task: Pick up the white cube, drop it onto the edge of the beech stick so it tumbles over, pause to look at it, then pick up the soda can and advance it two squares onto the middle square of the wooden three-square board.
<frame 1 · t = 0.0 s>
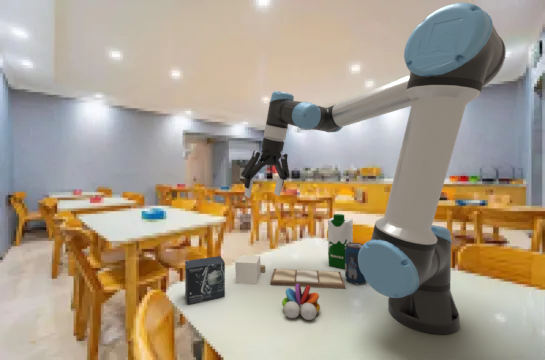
hand: (262, 195, 91), 28 cm above the table, tool tilted 20°, fingers open, 13 cm apart
stick: (252, 271, 90), on the table
box: (205, 297, 72), on the table
board: (306, 279, 83), on the table
white cube: (248, 279, 83), on the table
rainbow petal fan toy: (300, 313, 63), on the table
milk carton: (340, 265, 96), on the table
soda can: (355, 281, 82), on the table
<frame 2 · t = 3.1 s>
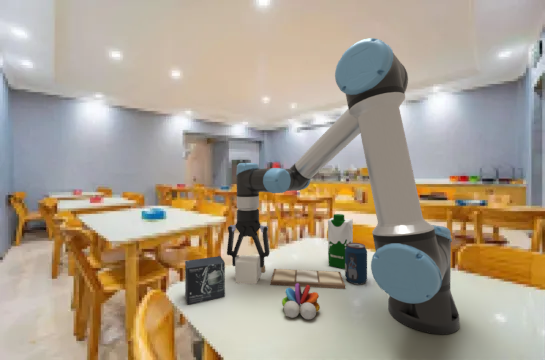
hand: (248, 275, 83), 1 cm above the table, tool pointing down, fingers closed on white cube, 7 cm apart
white cube: (248, 279, 83), on the table, touching gripper
everything else where it was.
when the fingers open (10 cm above the table, at t = 5.1 s): white cube drops 5 cm and tips over, point 3 cm above the table.
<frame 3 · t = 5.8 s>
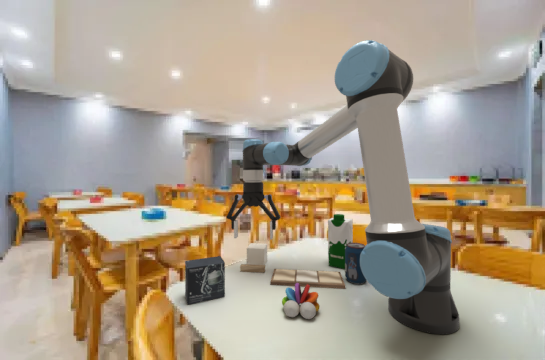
hand: (253, 238, 92), 12 cm above the table, tool pointing down, fingers open, 13 cm apart
white cube: (255, 257, 95), point 3 cm above the table, tilted 90°
everything else where it was.
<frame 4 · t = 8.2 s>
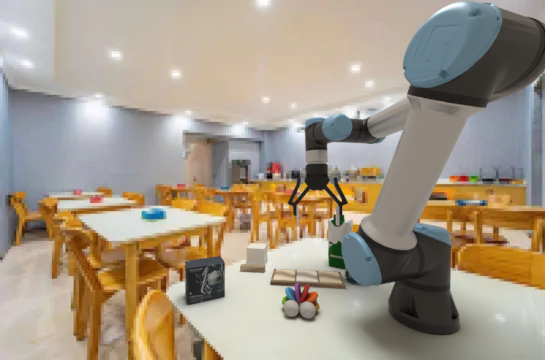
hand: (317, 225, 84), 18 cm above the table, tool pointing down, fingers open, 13 cm apart
nothing on the table moved.
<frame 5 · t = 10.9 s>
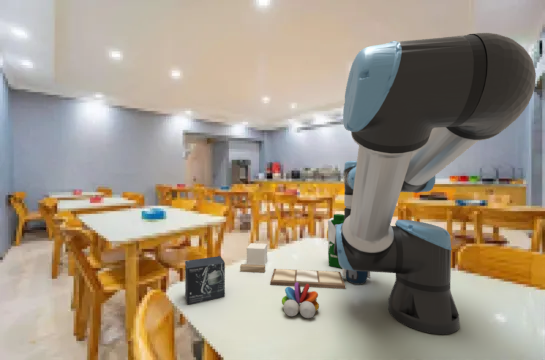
hand: (355, 275, 82), 2 cm above the table, tool pointing down, fingers closed on soda can, 7 cm apart
soda can: (355, 281, 82), on the table, touching gripper
everything else where it was.
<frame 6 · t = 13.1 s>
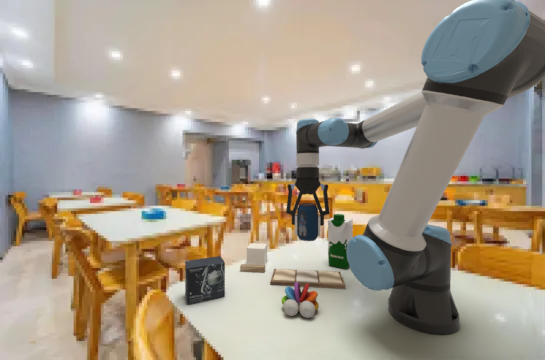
hand: (307, 234, 83), 15 cm above the table, tool pointing down, fingers closed on soda can, 7 cm apart
soda can: (307, 239, 83), point 13 cm above the table, touching gripper
everything else where it was.
when the fingers open (4 cm above the table, at t = 15.5 s): soda can drops 1 cm, resting on board.
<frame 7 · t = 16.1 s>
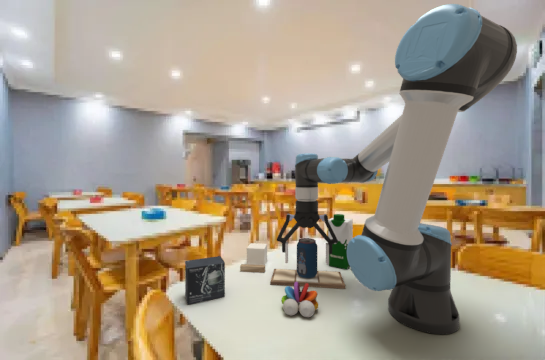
hand: (306, 262, 83), 6 cm above the table, tool pointing down, fingers open, 13 cm apart
soda can: (306, 276, 83), point 1 cm above the table, touching board
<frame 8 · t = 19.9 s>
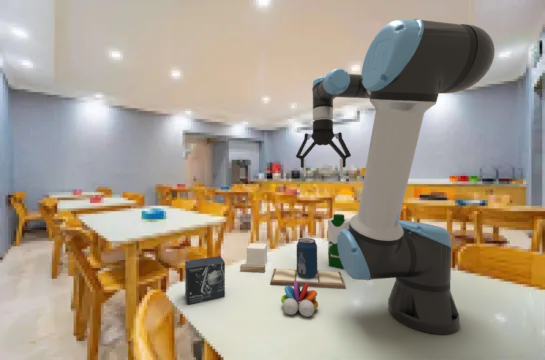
hand: (322, 176, 93), 35 cm above the table, tool pointing down, fingers open, 13 cm apart
at the end: soda can inside the target area on the board (0.1 cm from its centre), point 1.1 cm above the board's base; soda can tilted 0°; white cube moved 12.3 cm from its start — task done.
